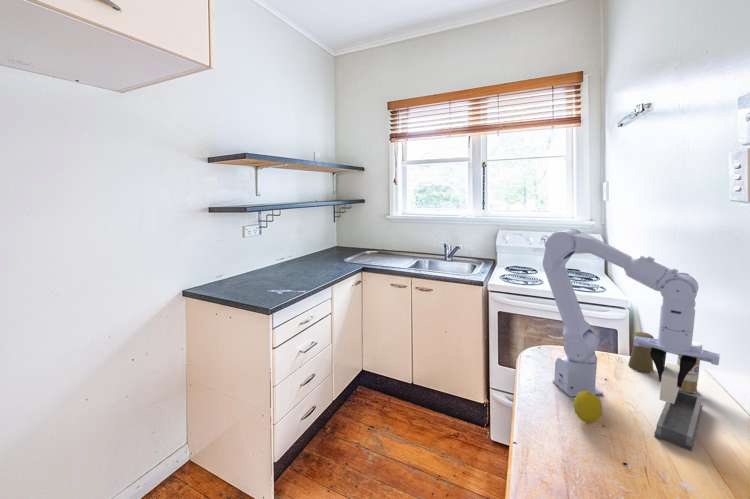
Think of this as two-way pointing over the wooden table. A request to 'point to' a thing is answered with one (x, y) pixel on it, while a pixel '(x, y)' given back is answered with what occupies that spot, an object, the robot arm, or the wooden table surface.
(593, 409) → the lemon
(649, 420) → the wooden table surface
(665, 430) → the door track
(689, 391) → the sprinkles bottle
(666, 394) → the door panel
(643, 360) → the cork
